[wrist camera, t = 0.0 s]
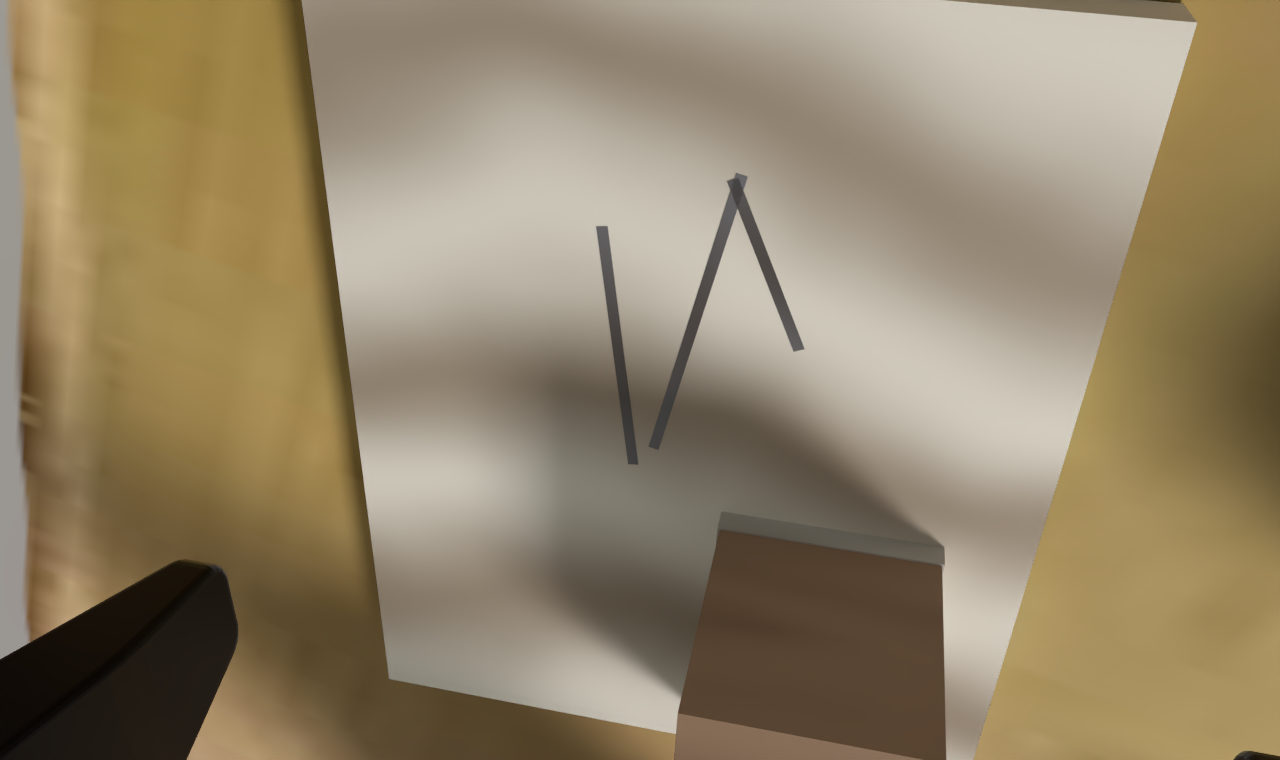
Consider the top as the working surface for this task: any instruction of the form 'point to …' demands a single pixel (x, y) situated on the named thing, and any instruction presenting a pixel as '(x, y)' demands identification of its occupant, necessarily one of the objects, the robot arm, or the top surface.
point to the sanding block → (816, 648)
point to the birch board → (717, 305)
